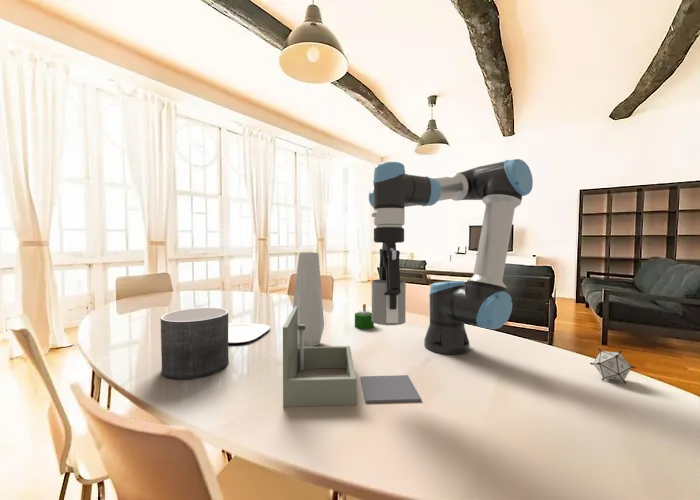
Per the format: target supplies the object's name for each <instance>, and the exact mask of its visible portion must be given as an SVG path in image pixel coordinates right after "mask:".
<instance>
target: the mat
mask: <svg viewBox="0 0 700 500" xmlns="http://www.w3.org/2000/svg"><path fill="white" fill-rule="evenodd" d="M359 378H360V383H361V387H362V392H363V396H364V397H363V398H364V401H365V404H373V403H374V404H377V403H381V404H382V403H383V404H384V403H410V402H412V403H413V402H415V403H416V402H419V403H420V402H422V397H421V395H420V394H419V392H418V391H417V389H416V387H415V386H414V384H413V382H412V380H411V378H410V376H409V375H407V374H406V375H405V374H403V375H401V374H400V375H361V376H360V377H359Z"/></svg>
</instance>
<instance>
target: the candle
mask: <svg viewBox="0 0 700 500" xmlns="http://www.w3.org/2000/svg"><path fill="white" fill-rule="evenodd" d="M366 308H367V305H366V304H365V303H364V304H363V305H362V309H361V310H359V312H355V313H354V328H355V329H358V330H371V329H374V328H375V323H373V322H372V312H370V310H367V309H366Z"/></svg>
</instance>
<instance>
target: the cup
mask: <svg viewBox="0 0 700 500" xmlns="http://www.w3.org/2000/svg"><path fill="white" fill-rule="evenodd" d="M392 289H395V288H392ZM406 289H407V288H406V280H404V279H400V290H401V292H400V294H398V323H386V295H384V293H385V292H387V281H386V280H384V281H383V280H382V279H373V280H371V313H372V322H373V323H374V324H377V325H381V326H399V325H404V324H405V323H406V293H407V292H406Z"/></svg>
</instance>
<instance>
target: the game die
mask: <svg viewBox="0 0 700 500" xmlns="http://www.w3.org/2000/svg"><path fill="white" fill-rule="evenodd" d="M597 350H598V351H599V352H598V354H597V356H596V358H595V360H594V361H593V362H590V363H589V364H590V365H593V366H594V367H595V368H596V370H597V372H599V374H600V375H601V377H602V378H601V381H602V380H603V381H605V379H608V380H616V381H622V382H623V383H624V384H627V381H626V380H625V379H626V378H627V376H628V374H629V373H630V371H631V370H632V369H636V366H634V365H631V364H630V363H629V361H628V360H627V359H626V358H625V356H623V354H622V352H623V350H622V349H620V350H619V351H618V352H617V351H605V350H602V349H601V348H600V347H598V348H597Z"/></svg>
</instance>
